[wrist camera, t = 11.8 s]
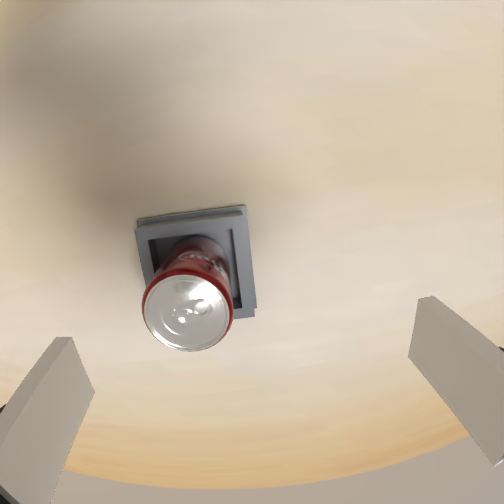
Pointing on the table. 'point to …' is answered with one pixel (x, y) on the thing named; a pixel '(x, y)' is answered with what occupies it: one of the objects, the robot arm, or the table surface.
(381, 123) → the table surface
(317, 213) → the table surface
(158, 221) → the box
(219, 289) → the soda can
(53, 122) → the table surface
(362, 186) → the table surface
